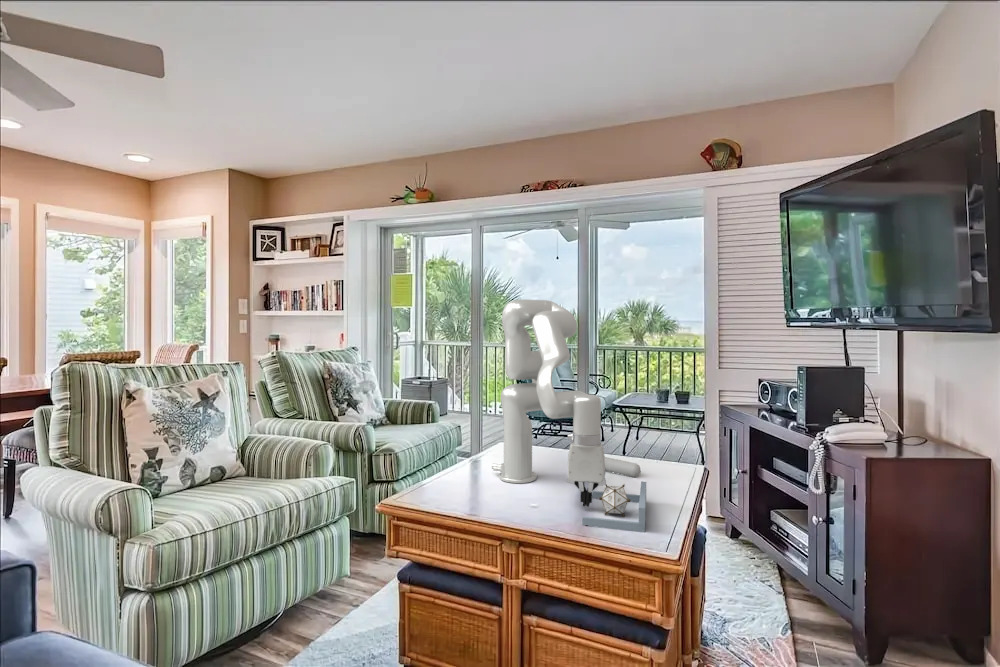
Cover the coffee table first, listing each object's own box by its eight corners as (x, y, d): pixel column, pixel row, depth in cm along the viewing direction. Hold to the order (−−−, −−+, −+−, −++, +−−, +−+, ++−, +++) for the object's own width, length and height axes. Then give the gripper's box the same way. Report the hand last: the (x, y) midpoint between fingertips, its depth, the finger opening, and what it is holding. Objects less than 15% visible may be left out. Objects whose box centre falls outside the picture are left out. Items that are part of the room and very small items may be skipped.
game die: (618, 525, 146) (638, 495, 148) (619, 525, 138) (639, 493, 140) (591, 506, 149) (610, 475, 151) (590, 504, 141) (610, 473, 143)
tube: (644, 464, 181) (582, 451, 198) (637, 462, 178) (575, 449, 194) (642, 480, 180) (580, 466, 197) (634, 478, 177) (572, 464, 193)
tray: (582, 525, 137) (582, 502, 136) (592, 497, 159) (592, 477, 158) (644, 532, 132) (644, 508, 132) (646, 502, 154) (646, 481, 154)
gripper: (557, 440, 146) (557, 506, 146) (613, 444, 142) (612, 512, 142) (562, 434, 153) (561, 498, 153) (615, 438, 149) (614, 503, 149)
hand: (586, 504), depth 148 cm, fingers closed
